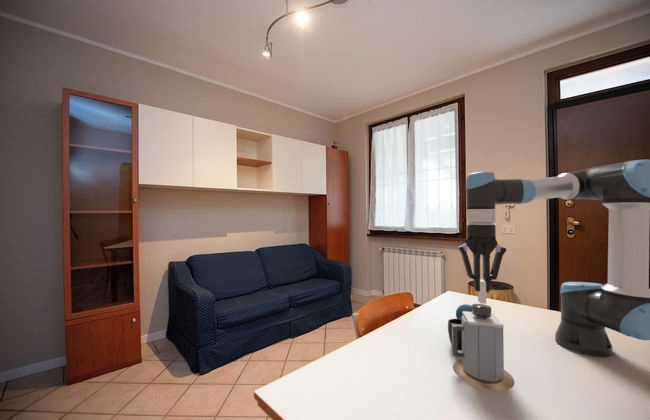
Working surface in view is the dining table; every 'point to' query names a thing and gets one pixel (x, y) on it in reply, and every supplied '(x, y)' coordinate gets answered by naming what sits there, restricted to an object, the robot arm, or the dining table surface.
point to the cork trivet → (503, 385)
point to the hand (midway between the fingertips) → (482, 302)
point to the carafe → (480, 347)
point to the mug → (459, 332)
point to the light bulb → (463, 308)
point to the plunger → (481, 311)
